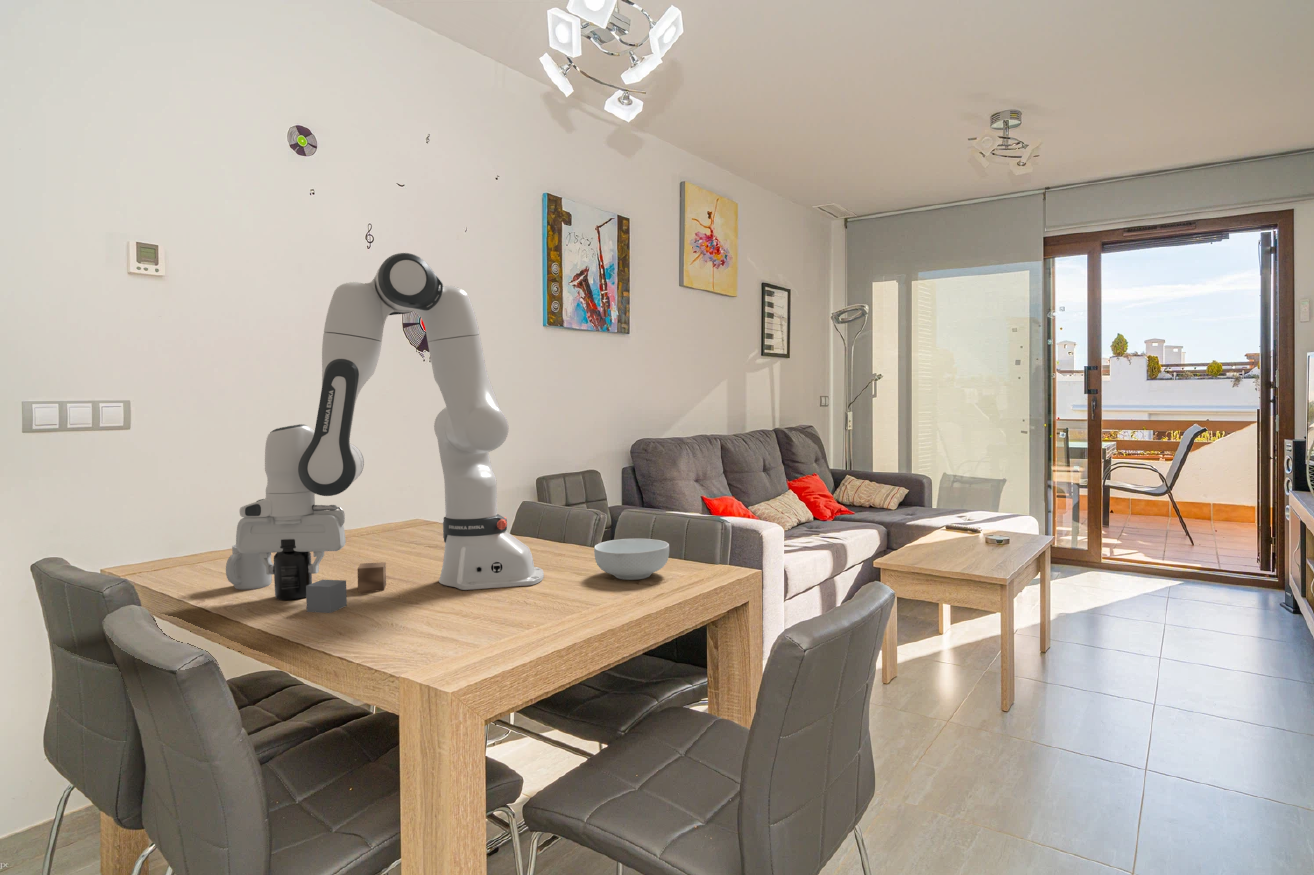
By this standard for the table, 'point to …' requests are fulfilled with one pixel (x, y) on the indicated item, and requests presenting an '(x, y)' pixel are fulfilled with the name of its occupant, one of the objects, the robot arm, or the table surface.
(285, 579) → the supplement bottle
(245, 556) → the cup
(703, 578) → the table surface
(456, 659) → the table surface
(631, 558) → the cereal bowl
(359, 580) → the walnut block
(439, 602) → the table surface
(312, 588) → the charcoal block
